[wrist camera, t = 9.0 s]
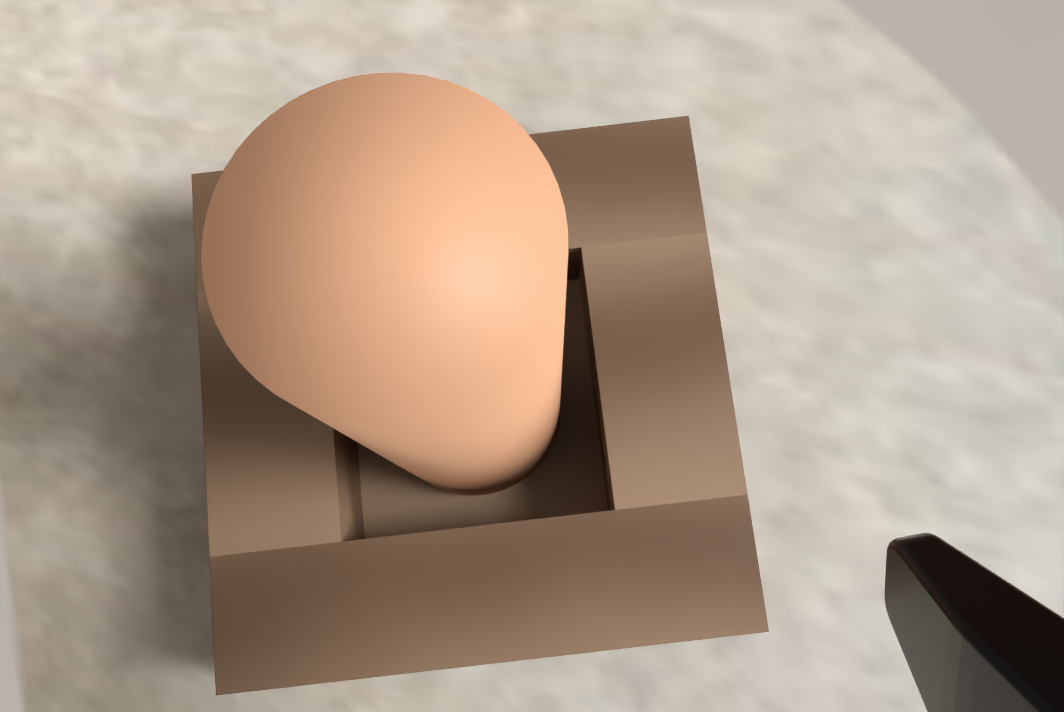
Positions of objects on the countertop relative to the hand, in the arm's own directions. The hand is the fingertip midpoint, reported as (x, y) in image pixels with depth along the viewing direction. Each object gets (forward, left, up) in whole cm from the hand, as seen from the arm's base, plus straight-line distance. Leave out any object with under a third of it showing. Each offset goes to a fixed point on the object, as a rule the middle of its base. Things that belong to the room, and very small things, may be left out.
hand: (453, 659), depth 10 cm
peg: (+4, 0, -12) cm, 13 cm away
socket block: (+4, 0, -13) cm, 14 cm away
